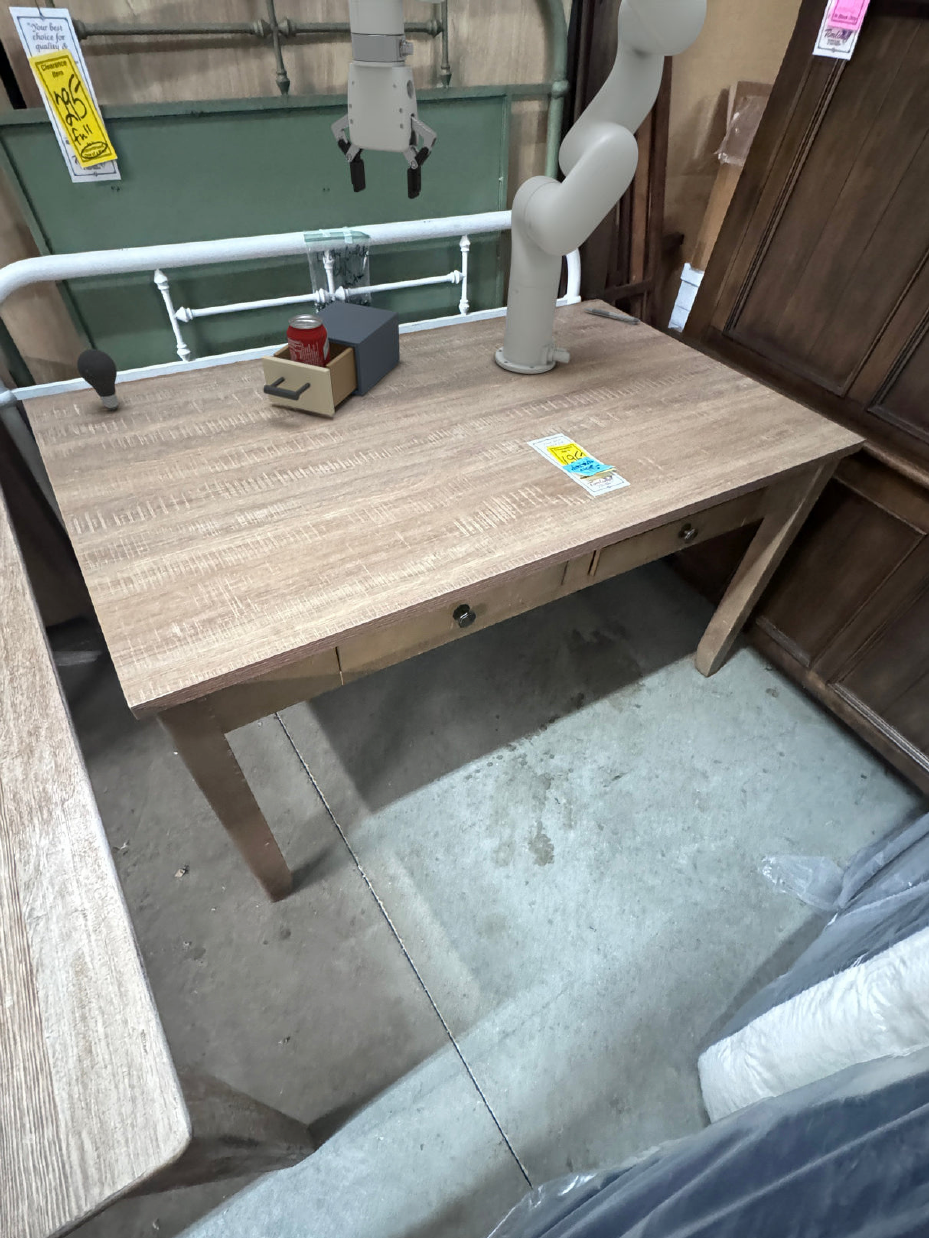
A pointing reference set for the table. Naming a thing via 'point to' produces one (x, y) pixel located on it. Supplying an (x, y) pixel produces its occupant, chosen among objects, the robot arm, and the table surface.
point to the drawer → (311, 379)
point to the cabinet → (364, 339)
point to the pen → (614, 315)
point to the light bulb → (99, 375)
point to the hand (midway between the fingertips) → (386, 193)
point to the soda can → (308, 340)
